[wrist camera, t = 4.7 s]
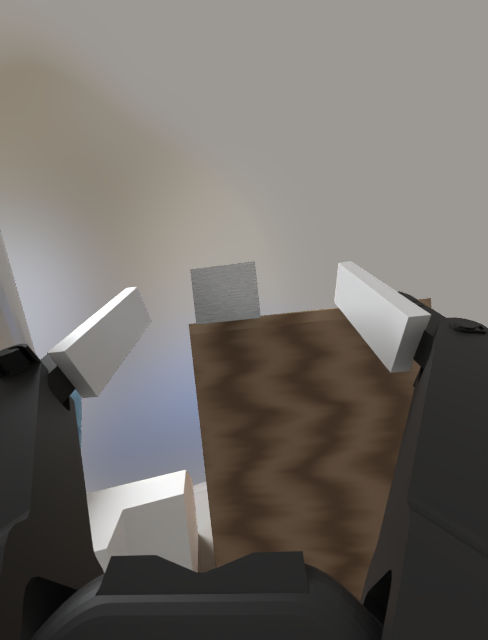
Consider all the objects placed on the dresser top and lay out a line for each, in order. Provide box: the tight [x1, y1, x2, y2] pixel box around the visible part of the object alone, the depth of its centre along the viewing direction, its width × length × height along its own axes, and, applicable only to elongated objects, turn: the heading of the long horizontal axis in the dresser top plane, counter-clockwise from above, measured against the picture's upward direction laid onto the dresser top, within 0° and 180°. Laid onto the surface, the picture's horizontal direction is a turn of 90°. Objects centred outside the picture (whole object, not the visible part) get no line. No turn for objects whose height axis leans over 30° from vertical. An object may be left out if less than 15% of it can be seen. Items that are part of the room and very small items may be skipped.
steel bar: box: [191, 262, 261, 325], centre depth 22 cm, size 4×22×3 cm, turn 176°
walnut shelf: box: [189, 298, 431, 601], centre depth 26 cm, size 22×12×28 cm, turn 86°
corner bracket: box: [86, 470, 198, 573], centre depth 22 cm, size 11×11×12 cm
